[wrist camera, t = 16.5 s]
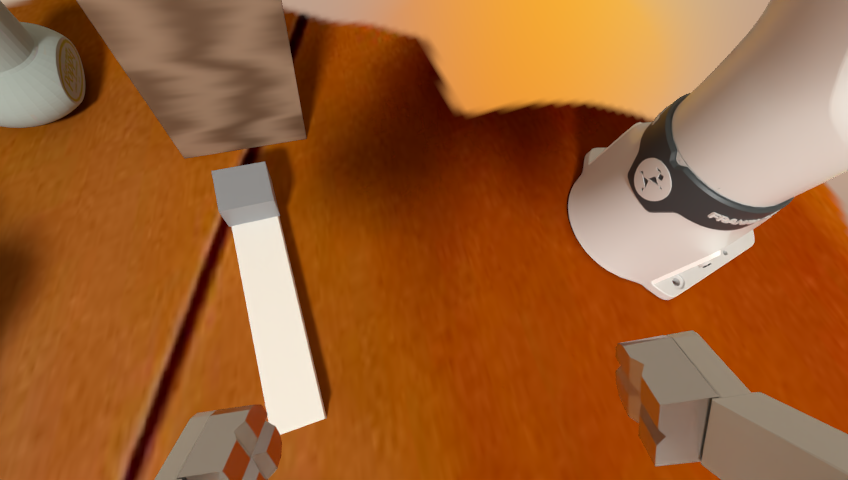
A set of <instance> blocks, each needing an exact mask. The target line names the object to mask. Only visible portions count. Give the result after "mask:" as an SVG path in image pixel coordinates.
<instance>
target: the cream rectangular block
mask: <svg viewBox="0 0 848 480" xmlns="http://www.w3.org/2000/svg"><path fill="white" fill-rule="evenodd" d="M212 176H213V182H214V187H215V193H216V198H217V204H218V210H219V213H220V214H221V216H222V217H223V218H224V220H225V221H226V223H227V224H228V226H229V227H230V226H232V231H233V236H234V242H235V247H236V252H237V257H238V263H239V268H240V273H241V278H242V284H243V289H244V294H245V300H246V305H247V310H248V315H249V321H250V326H251V331H252V337H253V342H254V347H255V352H256V358H257V363H258V368H259V373H260V379H261V384H262V389H263V395H264V400H265V405H266V410H267V413H268V414H267V416H268V421H269V423H271V424H272V425H274V426H276V428H277V430H278V431H279V433H280V435H281V434H284V433H286V432H289V431H292V430H295V429H297V428H300V427H303V426H306V425H309V424H311V423H314V422H317V421H320V420H323V419H325V418H327V417H326V413H325V408H324V404H323V400H322V396H321V391H320V387H319V383H318V379H317V374H316V370H315V366H314V361H313V357H312V353H311V349H310V344H309V340H308V336H307V332H306V327H305V323H304V319H303V315H302V310H301V306H300V302H299V298H298V293H297V289H296V285H295V281H294V276H293V272H292V268H291V264H290V259H289V255H288V251H287V247H286V242H285V238H284V234H283V230H282V225H281V221H280V217H279V216H280V214H279V209H278V205H277V201H276V197H275V192H274V188H273V184H272V180H271V177H270V174H269V171H268V168H267V166H266V163H265V161H264V162H259V163H253V164H248V165H242V166H237V167H231V168H226V169H220V170H215V171H212Z"/></svg>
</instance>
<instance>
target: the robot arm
mask: <svg viewBox="0 0 848 480" xmlns="http://www.w3.org/2000/svg"><path fill="white" fill-rule="evenodd" d="M846 171H848V0H770V2H769V4H768V6H767V7H766V9H765V11H764V12H763V14H762V15H761V17H760V18H759V20H758V21H757V23H756V24H755V25H754V26H753V28H752V29H751V30H750V32H749V33H748V34H747V35H746V36H745V37H744V38H743V40H742V41H741V42H740V43H739V44H738V45H737V46H736V48H735V49H734V50H733V51H732V52H731V53H730V54H729V55H728V56H727V57H726V58H725V59H724V60H723V62H722V63H721V64H720V65H719V66H718V67H717V68H716V69H715V70H714V71H713V72H712V73H711V74H710V75H709V76H708V77H707V78H706V79H705V80H704V81H703V82H702V83H701V84H700V85H699V86H698V87H697V88H696V89H695V90H694V91H693V92H692V93H689V94H686V95H684V96H682V97H680V98H679V99H677V100H676V101H675V102H674V103H673V104H671V105H670V106H668V107H666V108H665V109H664V110H663V111H662V112H661V113H660V114H659V115H658V116H657V117H656V118H655V120H654V121H653V122H646V123H642V122H638V123H636V124H634V125H633V126H632V127H630V128H629V129H628V130H627V131H626V132H625V133H623V134H622V135H621V136H620V137H619V138H618V139H617V140H615V141H614V142H613V143H612V144H611V145H610V146H609V147H607V148H593V149H592V150H590V151H589V152H588V153H587V154H586V156H585V159H584V165H583V172H582V174H581V175H580V177H579V178H578V179H577V181H576V182H575V184H574V185H573V187H572V189H571V192H570V195H569V201H568V213H569V219H570V223H571V226H572V229H573V231H574V234H575V236H576V238H577V239H578V241H579V243H580V244H581V246H582V247H583V248H584V250H585V251H586V252H587V253H588V254H589V256H590V257H591V258H592V259H593V260H595V261H596V262H597V263H598V264H599V265H601V266H602V267H603V268H605V269H606V270H608V271H609V272H611V273H613V274H615V275H617V276H619V277H622V278H625V279H628V280H631V281H634V282H637V283H639V284H641V285H643V286H644V287H645V288H647V289H648V290H649V291H651V292H652V293H653V294H655V295H656V296H658V297H659V298H661V299H664V300H670V299H672V298H674V297H676V296H678V295H679V294H681V293H682V292H684V291H685V290H687V289H688V288H690V287H691V286H693V285H694V284H696V283H697V282H699V281H700V280H702V279H703V278H705V277H706V276H708V275H709V274H711V273H712V272H714V271H715V270H717V269H718V268H720V267H721V266H723V265H724V264H726V263H727V262H729V261H730V260H732V259H733V258H735V257H736V256H738V255H739V254H741V253H742V252H744V251H745V250H747V249H748V248H750V247H751V246H752V245H753V244H754V232H753V229H754V228H756V227H757V226H759V225H760V224H762V223H763V222H765V221H766V220H768V219H769V218H770V217H771V216H772V215H773V214H775V213H777V212H778V211H779V210H780V209H782V208H783V207H785V206H786V205H788V204H789V203H790V202H791V201H792V199H793V198H794V196H797V195H799V194H801V193H803V192H805V191H807V190H809V189H811V188H813V187H815V186H817V185H820V184H822V183H824V182H826V181H828V180H830V179H832V178H834V177H836V176H838V175H840V174H842V173H845V172H846ZM673 282H674V283H675V285H674V284H673ZM616 358H617V360H618V362H619V363H620V365H621V366H620V367H619V368H618V369H617V370H616V385H617V389H618V393H619V397H620V399H621V402H622V404H623V406H624V408H625V410H626V412H627V414H628V416H629V417H631V418H632V419H634V420H635V421H637V422H638V423H639V437H640V439H641V441H642V443H643V445H644V446H645V448H646V450H647V452H648V454H649V456H650V458H651V460H652V461H653V463H654V465H655V466H662V465H672V464H681V463H690V462H699V461H701V464H702V465H703V466H704V467H706V468H707V469H708V470H710V471H711V472H712V473H713V474H715V475H716V476H717V477H719V478H720V479H721V480H848V434H846V433H844V432H842V431H840V430H838V429H835V428H833V427H831V426H829V425H827V424H825V423H823V422H821V421H819V420H817V419H815V418H813V417H811V416H809V415H807V414H804V413H802V412H800V411H798V410H796V409H794V408H792V407H790V406H788V405H786V404H784V403H782V402H780V401H778V400H776V399H773V398H771V397H769V396H767V395H765V394H763V393H761V392H755V393H751V392H750V391H749V390H748V389H747V388H746V386H745V385H744V384H743V383H742V382H741V381H740V380H739V379H738V378H737V376H736V375H735V374H734V373H733V372H732V371H731V370H730V369H729V368H728V366H727V365H726V364H725V363H724V362H723V361H722V360H721V359H720V358H719V356H718V355H717V354H716V353H715V352H714V351H713V350H712V349H711V348H710V346H709V345H708V344H707V343H706V342H705V341H704V340H703V339H702V338H701V336H700V335H699V334H698V333H696V332H694V331H686V332H681V333H675V334H669V335H666V336H665V335H662V336H657V337H651V338H646V339H640V340H634V341H629V342H623V343H618V344H617V346H616ZM267 414H268V413H267V412H266V411H265V409H264V408H263V406H262V405H249V406H242V407H235V408H227V409H220V410H215V411H208V412H201V413H197V414H196V415H194V416H193V417H192V418H190V420H189V422H188V423H187V425H186V427H185V429H184V430H183V432H182V434H181V435H180V437H179V439H178V440H177V442H176V444H175V446H174V447H173V449H172V451H171V452H170V454H169V456H168V457H167V459H166V461H165V463H164V464H163V466H162V468H161V469H160V471H159V473H158V474H157V476H156V478H155V480H268V478H269V477H270V476H271V475H272V474H273V473H274V472H275V470H276V469H277V468H278V465H279V461H280V458H281V449H282V441H281V437H280V433H279V431H278V430H277V428H276V426H274V425H272V424H271V423H269V422H267V421H265V420H266V417H267Z"/></svg>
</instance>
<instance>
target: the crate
mask: <svg viewBox="0 0 848 480" xmlns="http://www.w3.org/2000/svg"><path fill="white" fill-rule="evenodd" d="M76 1H77V2H78V4H79V5H80V7H81V8H82V9H83V11H84V12H85V14H86V15H87V17H88V18H89V20H90V21H91V23H92V24H93V26H94V27H95V28H96V30H97V31H98V33H99V34H100V36H101V37H102V39H103V40H104V42H105V43H106V44H107V46H108V47H109V49H110V50H111V52H112V53H113V55H114V56H115V58H116V59H117V61H118V62H119V63H120V65H121V66H122V68H123V69H124V71H125V72H126V74H127V75H128V77H129V78H130V80H131V81H132V82H133V84H134V85H135V87H136V88H137V90H138V91H139V93H140V94H141V96H142V97H143V99H144V100H145V101H146V103H147V104H148V106H149V107H150V109H151V110H152V112H153V113H154V115H155V116H156V117H157V119H158V120H159V122H160V123H161V125H162V126H163V128H164V129H165V131H166V132H167V134H168V135H169V136H170V138H171V139H172V141H173V142H174V144H175V145H176V147H177V148H178V150H179V151H180V153H181V154H182V155H183V157H184V158H190V157H197V156H203V155H209V154H215V153H221V152H227V151H234V150H240V149H246V148H252V147H258V146H264V145H271V144H277V143H283V142H289V141H295V140H301V139H307V138H306V133H305V127H304V122H303V116H302V111H301V105H300V100H299V94H298V89H297V83H296V78H295V72H294V67H293V61H292V56H291V50H290V45H289V39H288V34H287V28H286V22H285V17H284V11H283V6H282V0H76Z"/></svg>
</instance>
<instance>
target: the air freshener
mask: <svg viewBox="0 0 848 480" xmlns="http://www.w3.org/2000/svg"><path fill="white" fill-rule="evenodd" d="M84 95H85V75H84V69H83V65H82V62H81V59H80V56H79V54H78V51H77V49H76V48H75V46H74V45H73V43H72V42H71V41H70V40H69V39H68V38H66V37H65V36H63V35H62V34H60V33H58V32H56V31H54V30H51V29H49V28H46V27H43V26H39V25H36V24H31V23H25V22H19V21H18V20H17V19H16V18H15V17H14V16H13V14H12V13H11V12H10V11H9V10H8V9H7V8H6V7H5V5H4V4H3V3H2V2H1V1H0V126H3V127H10V128H25V127H35V126H40V125H44V124H48V123H51V122H54V121H56V120H58V119H60V118H63V117H64V116H66V115H68V114H69V113H71V112H72V111H73V110H74V109H76V108H77V107H78V106H79V104H80V103H81V102H82V101H83V99H84Z"/></svg>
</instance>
